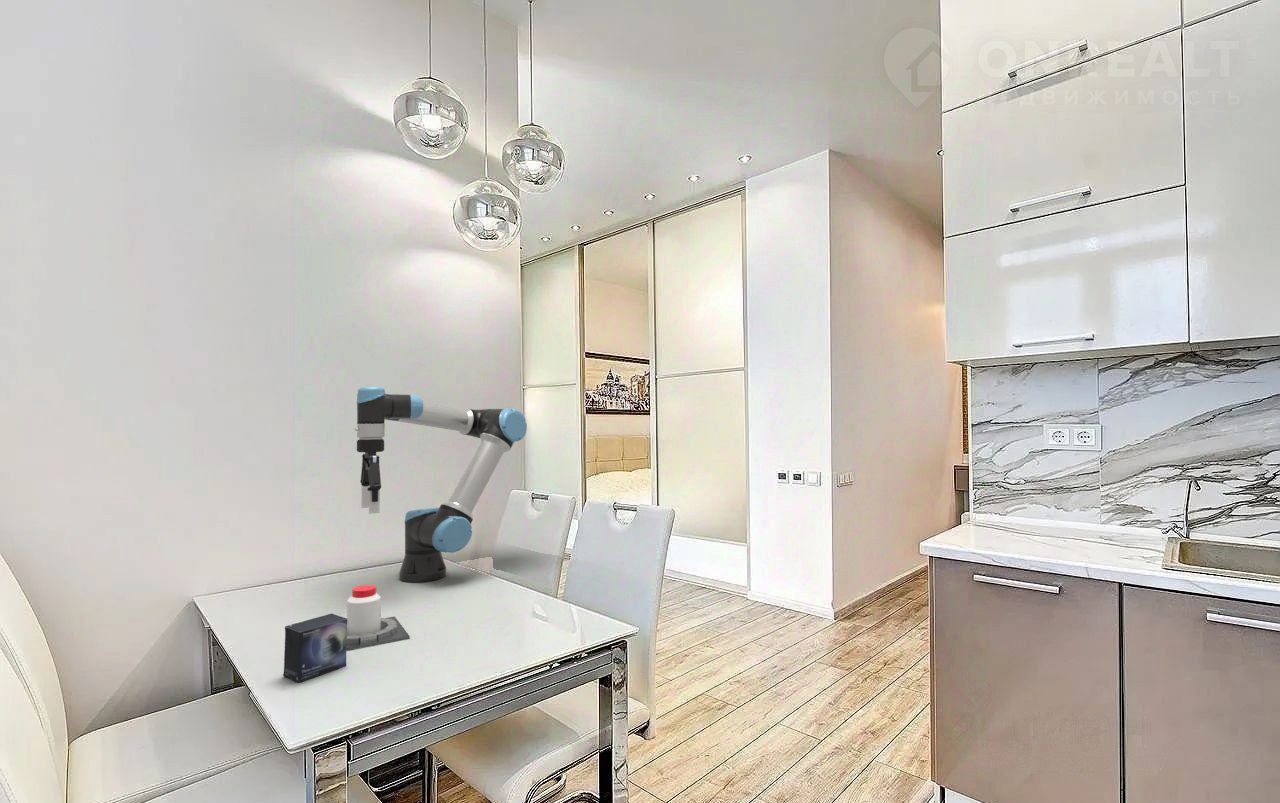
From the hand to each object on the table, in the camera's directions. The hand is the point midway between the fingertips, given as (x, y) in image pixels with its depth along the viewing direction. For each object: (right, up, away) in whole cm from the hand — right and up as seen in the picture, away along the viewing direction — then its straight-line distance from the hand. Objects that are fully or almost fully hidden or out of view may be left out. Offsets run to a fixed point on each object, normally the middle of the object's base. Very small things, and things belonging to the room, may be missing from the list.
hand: (370, 510), depth 180 cm
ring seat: (+11, -26, -29) cm, 41 cm away
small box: (+11, -25, -51) cm, 58 cm away
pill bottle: (+11, -25, -29) cm, 40 cm away
